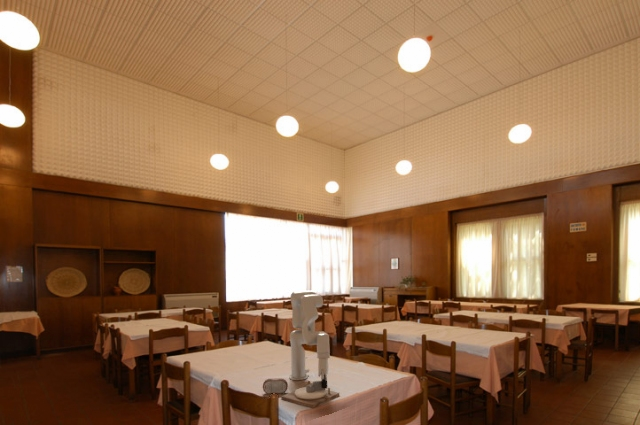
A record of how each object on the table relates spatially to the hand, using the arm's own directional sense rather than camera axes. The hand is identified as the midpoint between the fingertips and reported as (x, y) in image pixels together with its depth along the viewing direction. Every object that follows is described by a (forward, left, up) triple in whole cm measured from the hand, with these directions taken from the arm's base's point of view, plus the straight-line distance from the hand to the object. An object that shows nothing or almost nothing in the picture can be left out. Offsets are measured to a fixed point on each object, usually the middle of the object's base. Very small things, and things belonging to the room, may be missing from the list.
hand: (324, 387), depth 221 cm
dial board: (+5, -7, -5) cm, 10 cm away
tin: (+12, -29, -6) cm, 32 cm away
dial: (+5, -7, -3) cm, 9 cm away
